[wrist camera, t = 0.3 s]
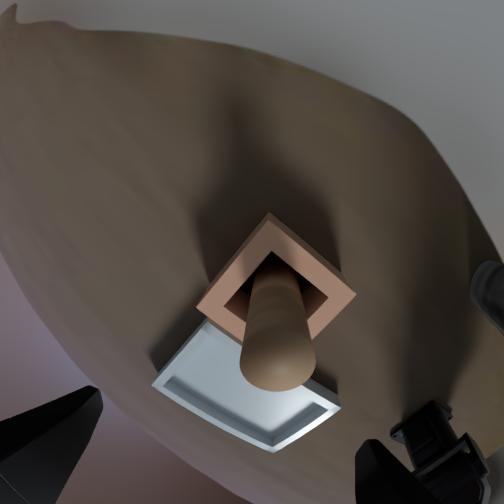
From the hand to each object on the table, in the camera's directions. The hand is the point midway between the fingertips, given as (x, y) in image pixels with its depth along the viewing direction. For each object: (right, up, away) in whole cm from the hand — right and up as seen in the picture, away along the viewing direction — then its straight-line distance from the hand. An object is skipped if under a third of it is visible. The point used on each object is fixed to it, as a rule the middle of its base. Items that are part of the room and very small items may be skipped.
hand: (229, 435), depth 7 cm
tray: (0, -6, +15) cm, 17 cm away
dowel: (+2, +4, +13) cm, 13 cm away
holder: (+2, +4, +13) cm, 13 cm away
